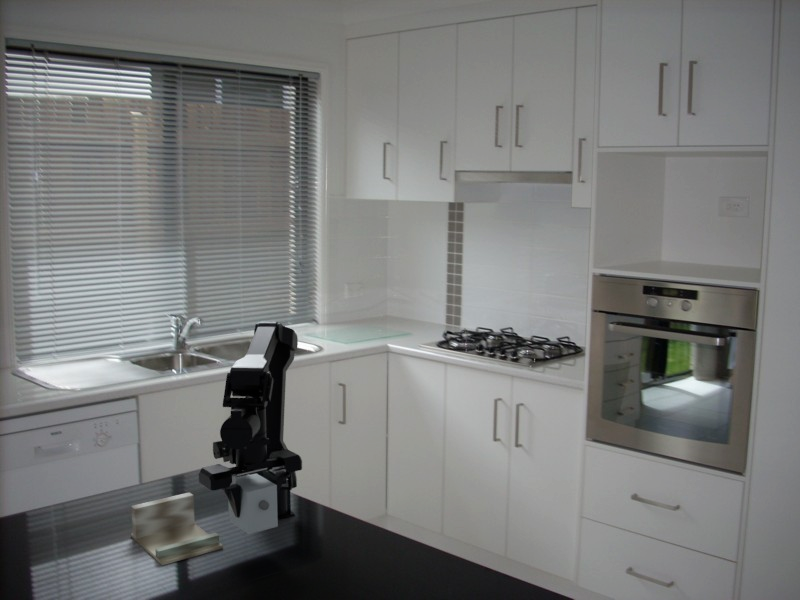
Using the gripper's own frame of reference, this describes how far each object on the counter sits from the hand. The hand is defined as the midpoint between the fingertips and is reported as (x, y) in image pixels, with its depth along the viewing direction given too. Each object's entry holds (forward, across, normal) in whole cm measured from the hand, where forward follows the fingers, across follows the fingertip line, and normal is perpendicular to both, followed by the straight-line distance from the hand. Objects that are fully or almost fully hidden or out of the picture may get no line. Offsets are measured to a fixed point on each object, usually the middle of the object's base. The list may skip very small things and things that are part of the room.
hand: (252, 513), depth 160 cm
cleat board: (+8, +10, -13) cm, 18 cm away
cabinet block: (+2, 0, 0) cm, 2 cm away
